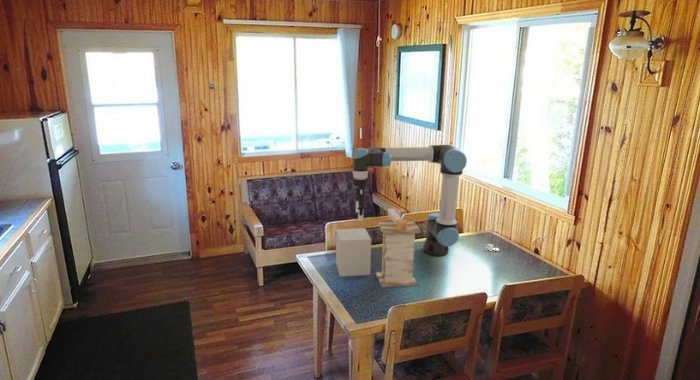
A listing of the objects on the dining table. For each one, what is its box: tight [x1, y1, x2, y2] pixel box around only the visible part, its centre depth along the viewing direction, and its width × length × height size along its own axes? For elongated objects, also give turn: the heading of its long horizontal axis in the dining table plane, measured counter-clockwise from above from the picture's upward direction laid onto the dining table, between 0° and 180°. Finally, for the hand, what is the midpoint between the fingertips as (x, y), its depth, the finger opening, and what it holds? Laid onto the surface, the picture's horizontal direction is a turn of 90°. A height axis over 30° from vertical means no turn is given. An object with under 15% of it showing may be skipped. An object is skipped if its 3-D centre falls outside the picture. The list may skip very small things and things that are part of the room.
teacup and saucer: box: [485, 243, 500, 252], centre depth 269 cm, size 9×8×4 cm
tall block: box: [335, 227, 372, 277], centre depth 240 cm, size 16×16×20 cm
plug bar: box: [387, 208, 408, 230], centre depth 227 cm, size 24×4×4 cm, turn 9°
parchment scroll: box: [375, 219, 422, 288], centre depth 227 cm, size 14×18×30 cm
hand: (359, 216), depth 241 cm, fingers open, 13 cm apart
